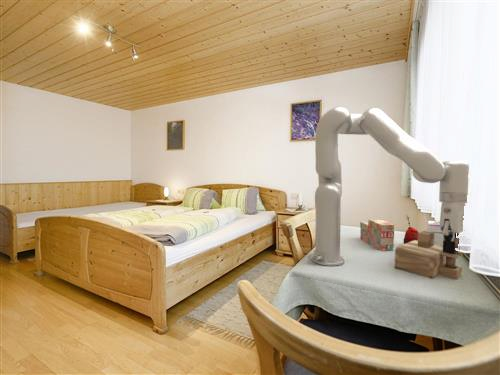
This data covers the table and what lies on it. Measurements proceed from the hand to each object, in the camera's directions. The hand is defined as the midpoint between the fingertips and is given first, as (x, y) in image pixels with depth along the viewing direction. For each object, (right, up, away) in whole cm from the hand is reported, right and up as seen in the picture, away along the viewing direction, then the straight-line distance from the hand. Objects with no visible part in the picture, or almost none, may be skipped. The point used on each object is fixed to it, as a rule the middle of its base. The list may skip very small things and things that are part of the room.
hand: (451, 250), depth 87 cm
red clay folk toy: (+8, -7, +35) cm, 36 cm away
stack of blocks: (-7, -7, +39) cm, 40 cm away
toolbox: (-4, -8, +5) cm, 10 cm away
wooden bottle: (0, -8, 0) cm, 8 cm away
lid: (-4, -2, +5) cm, 6 cm away
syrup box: (+9, -7, +20) cm, 23 cm away
